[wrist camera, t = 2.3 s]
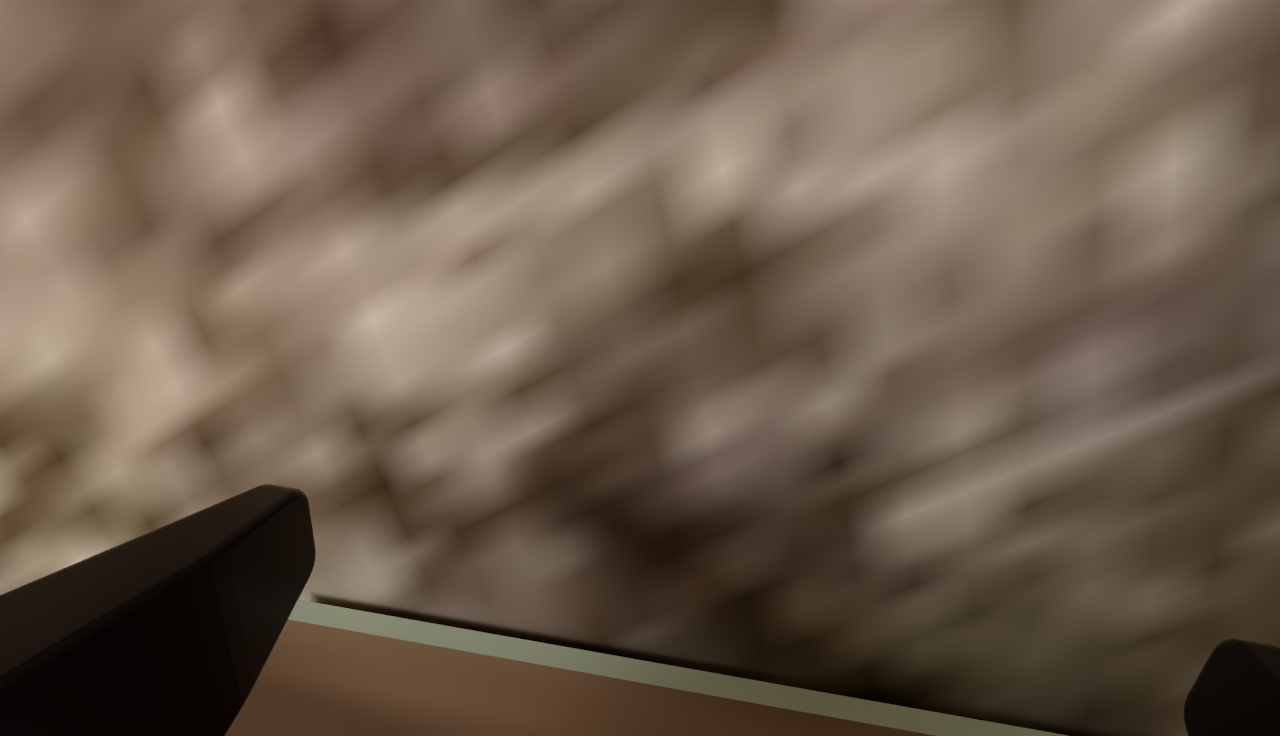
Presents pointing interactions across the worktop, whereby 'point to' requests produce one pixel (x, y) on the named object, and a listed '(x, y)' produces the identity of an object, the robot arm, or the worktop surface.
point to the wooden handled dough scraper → (531, 690)
